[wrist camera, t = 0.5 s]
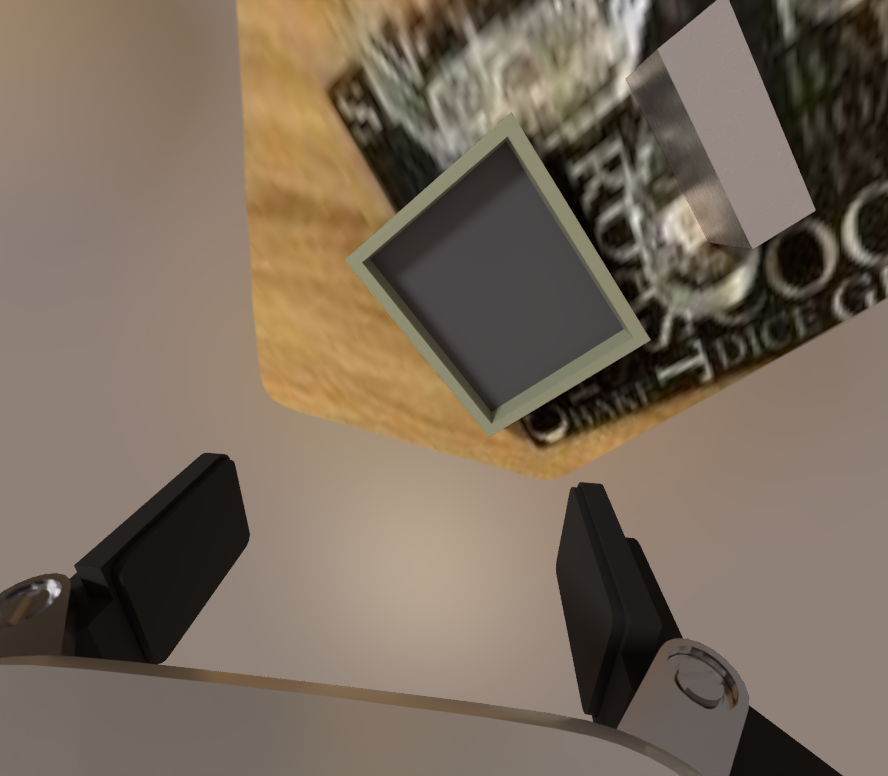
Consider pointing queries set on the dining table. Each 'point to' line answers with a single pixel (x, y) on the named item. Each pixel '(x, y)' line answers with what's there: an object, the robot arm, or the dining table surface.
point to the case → (499, 283)
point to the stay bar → (721, 132)
